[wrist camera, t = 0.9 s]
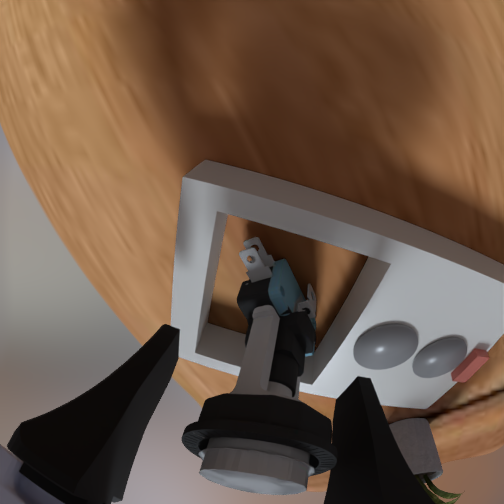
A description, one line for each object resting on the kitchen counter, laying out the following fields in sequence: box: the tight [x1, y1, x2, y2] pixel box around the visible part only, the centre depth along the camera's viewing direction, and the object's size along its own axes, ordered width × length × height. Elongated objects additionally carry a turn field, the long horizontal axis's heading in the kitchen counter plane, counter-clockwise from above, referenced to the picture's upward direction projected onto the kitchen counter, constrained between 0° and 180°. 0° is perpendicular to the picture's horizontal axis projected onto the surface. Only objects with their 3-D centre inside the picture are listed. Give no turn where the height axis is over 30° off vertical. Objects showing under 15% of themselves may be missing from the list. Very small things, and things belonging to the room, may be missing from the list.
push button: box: [182, 237, 337, 495], centre depth 11 cm, size 7×5×10 cm
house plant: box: [389, 418, 461, 504], centre depth 16 cm, size 14×14×16 cm
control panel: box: [171, 160, 504, 409], centre depth 14 cm, size 18×11×3 cm, turn 77°
